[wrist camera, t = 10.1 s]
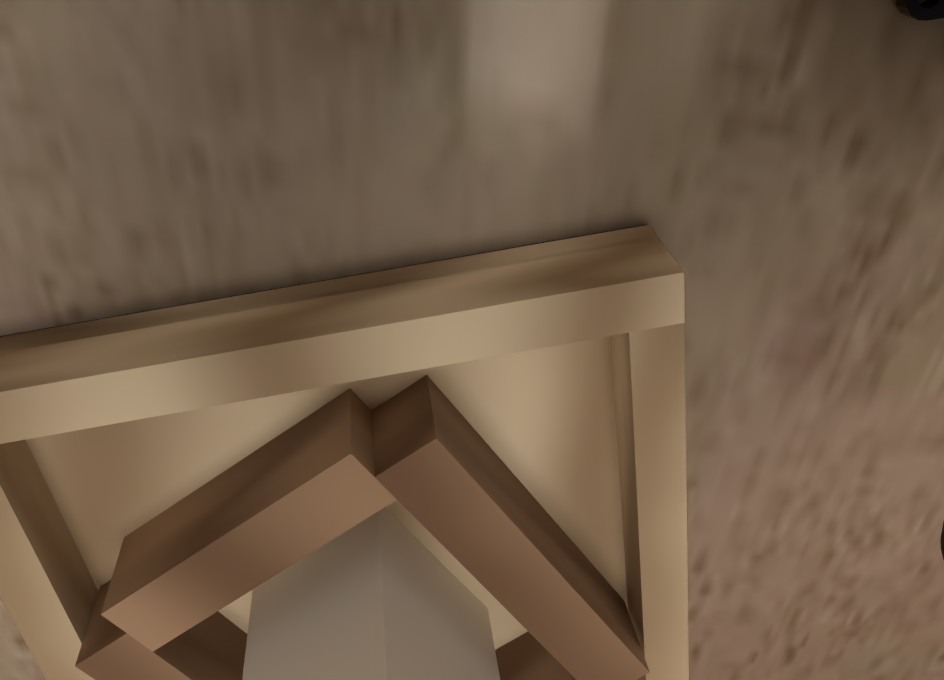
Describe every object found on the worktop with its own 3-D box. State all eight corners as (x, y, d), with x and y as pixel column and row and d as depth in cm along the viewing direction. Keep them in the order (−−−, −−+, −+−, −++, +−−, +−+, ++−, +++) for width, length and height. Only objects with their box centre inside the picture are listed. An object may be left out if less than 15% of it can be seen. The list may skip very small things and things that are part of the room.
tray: (648, 225, 21) (697, 290, 18) (665, 724, 30) (698, 819, 27) (-58, 346, 20) (-123, 434, 17) (181, 818, 29) (164, 926, 26)
